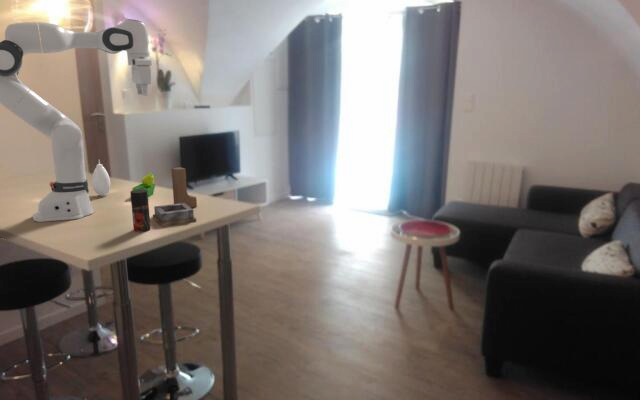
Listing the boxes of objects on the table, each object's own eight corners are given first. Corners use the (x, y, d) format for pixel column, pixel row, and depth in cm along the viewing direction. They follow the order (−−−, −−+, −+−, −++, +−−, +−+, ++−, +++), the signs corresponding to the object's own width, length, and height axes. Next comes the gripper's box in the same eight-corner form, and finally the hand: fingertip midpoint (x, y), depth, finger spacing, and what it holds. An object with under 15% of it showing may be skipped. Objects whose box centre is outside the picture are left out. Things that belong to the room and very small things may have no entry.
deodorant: (153, 228, 179) (150, 190, 175) (142, 233, 174) (138, 193, 170) (142, 226, 182) (139, 188, 178) (130, 230, 176) (126, 191, 173)
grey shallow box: (160, 226, 182) (159, 214, 181) (152, 217, 194) (151, 206, 192) (196, 221, 189) (195, 210, 188) (186, 212, 201) (186, 202, 199)
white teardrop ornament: (96, 198, 223) (92, 160, 219) (91, 195, 229) (87, 158, 225) (113, 195, 228) (110, 159, 224) (108, 192, 234) (104, 157, 230)
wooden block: (192, 204, 214) (189, 165, 209) (197, 206, 211) (195, 167, 206) (173, 208, 208) (171, 168, 203) (178, 210, 205) (176, 169, 200)
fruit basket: (141, 193, 234) (139, 171, 231) (159, 193, 234) (157, 171, 231) (132, 199, 223) (130, 175, 220) (150, 199, 223) (148, 176, 220)
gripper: (126, 61, 203) (130, 94, 207) (136, 60, 186) (139, 96, 190) (141, 61, 206) (144, 93, 210) (152, 60, 190) (155, 96, 193)
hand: (142, 95), depth 200 cm, fingers open, 8 cm apart
